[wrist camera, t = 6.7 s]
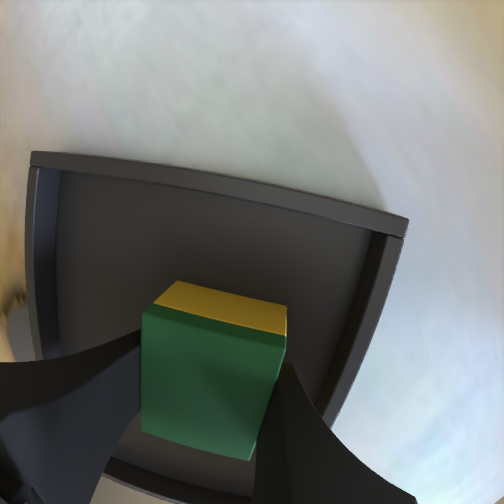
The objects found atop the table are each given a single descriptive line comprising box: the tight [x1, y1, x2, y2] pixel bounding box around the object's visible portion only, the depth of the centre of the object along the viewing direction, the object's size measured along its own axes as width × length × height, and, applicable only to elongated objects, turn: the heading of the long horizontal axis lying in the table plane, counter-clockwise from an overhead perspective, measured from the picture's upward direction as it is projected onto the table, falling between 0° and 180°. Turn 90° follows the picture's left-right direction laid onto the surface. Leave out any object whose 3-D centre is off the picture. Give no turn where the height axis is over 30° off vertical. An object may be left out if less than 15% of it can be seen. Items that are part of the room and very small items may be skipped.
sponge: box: [140, 281, 287, 460], centre depth 10 cm, size 5×4×3 cm
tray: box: [25, 151, 409, 504], centre depth 11 cm, size 17×13×2 cm
